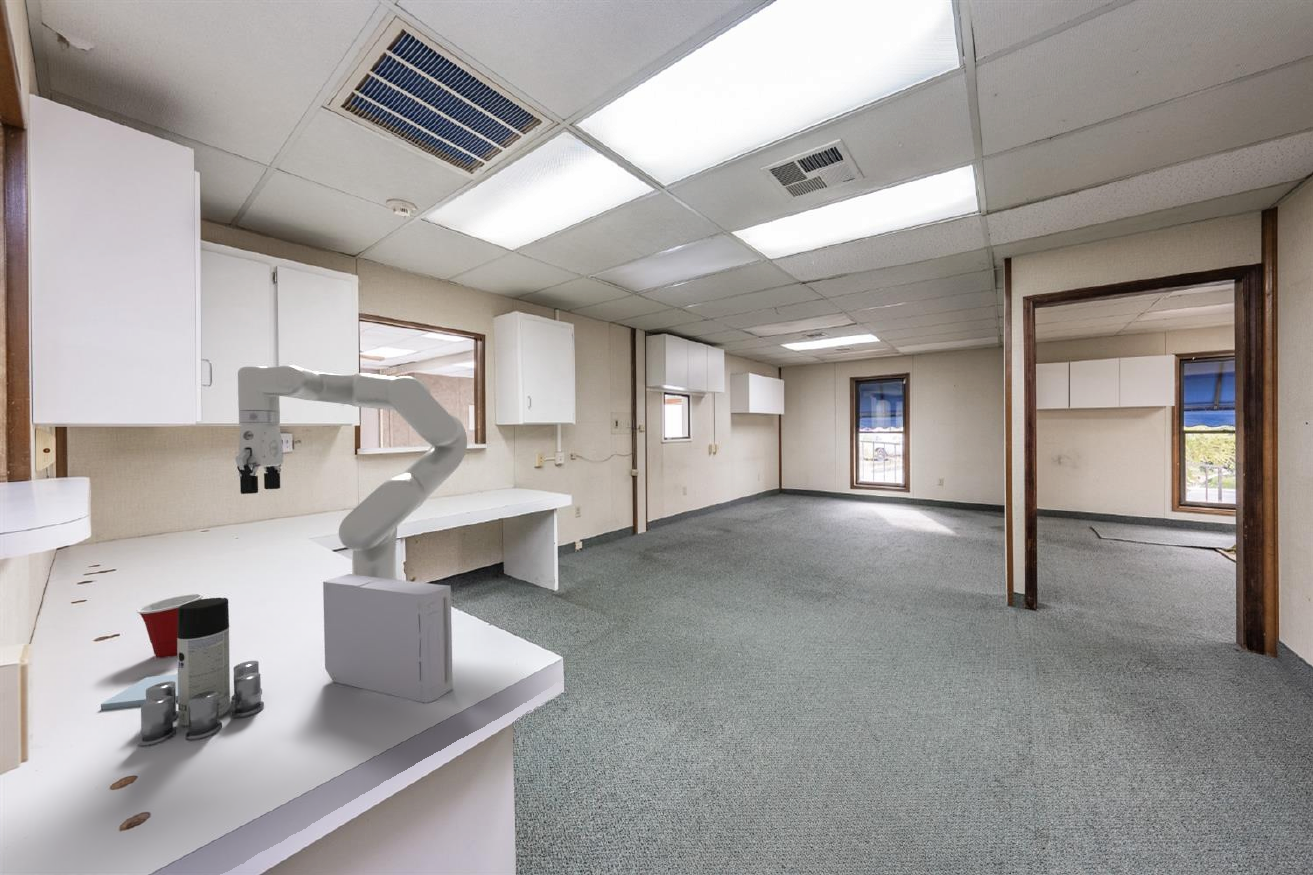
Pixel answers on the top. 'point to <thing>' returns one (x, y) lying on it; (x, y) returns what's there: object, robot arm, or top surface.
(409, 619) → the game console
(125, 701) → the pad
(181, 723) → the spray can
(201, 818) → the top surface
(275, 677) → the top surface
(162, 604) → the plastic cup
